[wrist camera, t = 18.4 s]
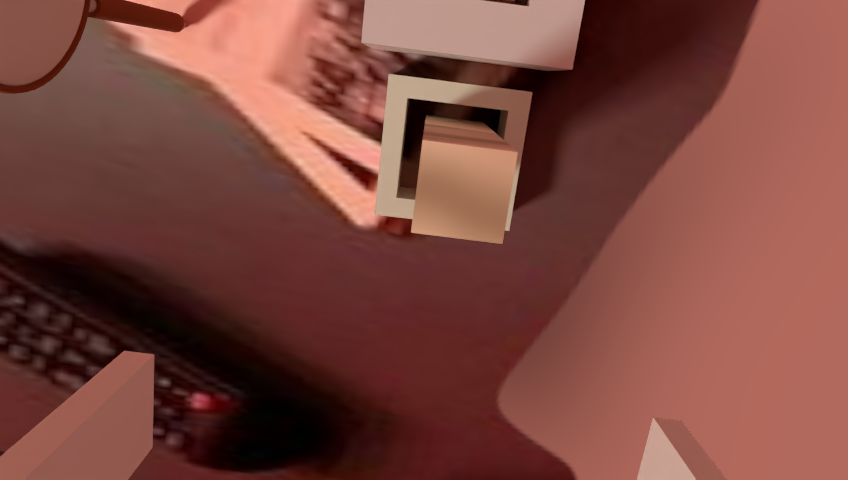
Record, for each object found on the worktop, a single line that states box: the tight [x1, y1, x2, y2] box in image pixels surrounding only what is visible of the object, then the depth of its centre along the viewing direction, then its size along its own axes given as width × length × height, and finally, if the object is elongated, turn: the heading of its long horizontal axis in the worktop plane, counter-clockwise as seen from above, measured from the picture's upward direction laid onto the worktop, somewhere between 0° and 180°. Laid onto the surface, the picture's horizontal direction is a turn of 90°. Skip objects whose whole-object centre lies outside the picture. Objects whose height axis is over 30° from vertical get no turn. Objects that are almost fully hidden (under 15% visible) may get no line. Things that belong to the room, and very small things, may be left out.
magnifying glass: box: [0, 0, 185, 94], centre depth 29 cm, size 9×2×20 cm, turn 161°
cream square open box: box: [375, 74, 532, 231], centre depth 39 cm, size 9×9×4 cm
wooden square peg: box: [411, 115, 518, 244], centre depth 33 cm, size 4×4×17 cm
